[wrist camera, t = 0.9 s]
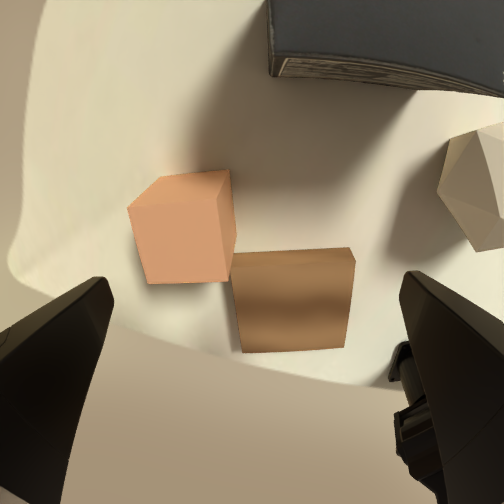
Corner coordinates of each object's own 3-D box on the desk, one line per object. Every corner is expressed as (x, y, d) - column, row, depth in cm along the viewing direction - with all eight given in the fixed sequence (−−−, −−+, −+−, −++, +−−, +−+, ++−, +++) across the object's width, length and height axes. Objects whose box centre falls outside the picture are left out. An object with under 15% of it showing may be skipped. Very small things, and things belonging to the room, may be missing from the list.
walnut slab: (340, 332, 27) (343, 347, 26) (243, 337, 28) (242, 353, 26) (349, 247, 23) (355, 260, 21) (232, 253, 24) (229, 267, 22)
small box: (416, 9, 14) (509, -23, 4) (419, 91, 17) (522, 108, 8) (264, -10, 14) (261, -89, 5) (268, 78, 17) (270, 63, 8)
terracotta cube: (236, 234, 23) (228, 281, 18) (172, 238, 23) (147, 283, 18) (229, 169, 20) (216, 198, 15) (160, 176, 21) (126, 207, 16)
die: (399, 193, 21) (479, 299, 16) (433, 94, 14) (559, 222, 9) (459, 167, 22) (528, 250, 17) (493, 87, 15) (585, 181, 10)
